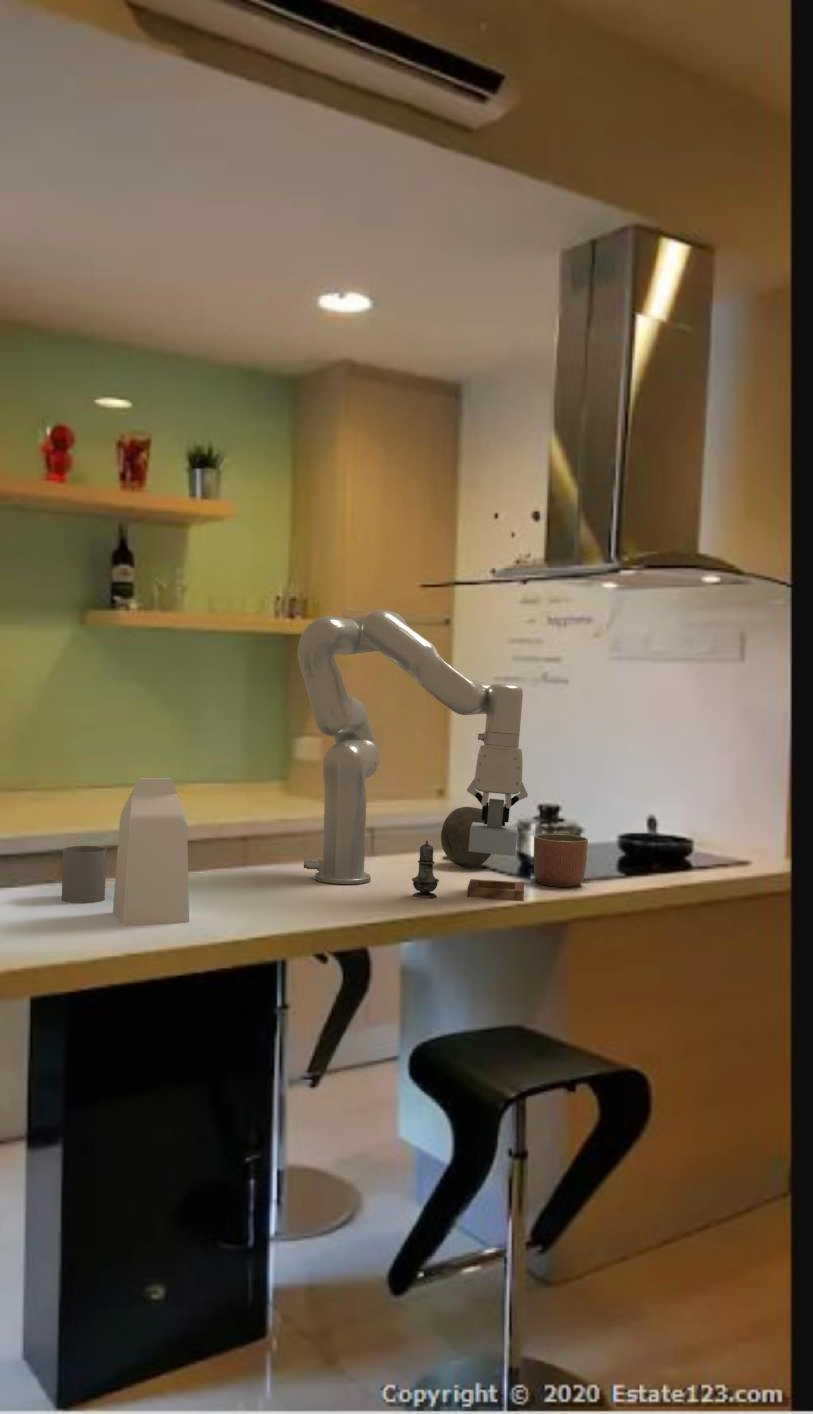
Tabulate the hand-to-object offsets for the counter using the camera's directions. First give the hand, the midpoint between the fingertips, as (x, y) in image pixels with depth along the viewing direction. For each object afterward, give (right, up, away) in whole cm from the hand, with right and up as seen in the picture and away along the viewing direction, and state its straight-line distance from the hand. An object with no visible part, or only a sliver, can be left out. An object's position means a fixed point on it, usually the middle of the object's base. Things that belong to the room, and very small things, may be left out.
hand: (494, 823), depth 245 cm
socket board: (0, -15, 0) cm, 15 cm away
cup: (-84, -13, -22) cm, 87 cm away
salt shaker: (-15, -15, -5) cm, 22 cm away
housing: (0, -6, 0) cm, 6 cm away
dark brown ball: (-4, -15, +34) cm, 37 cm away
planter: (+16, -16, +15) cm, 27 cm away
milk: (-67, -14, -36) cm, 77 cm away
